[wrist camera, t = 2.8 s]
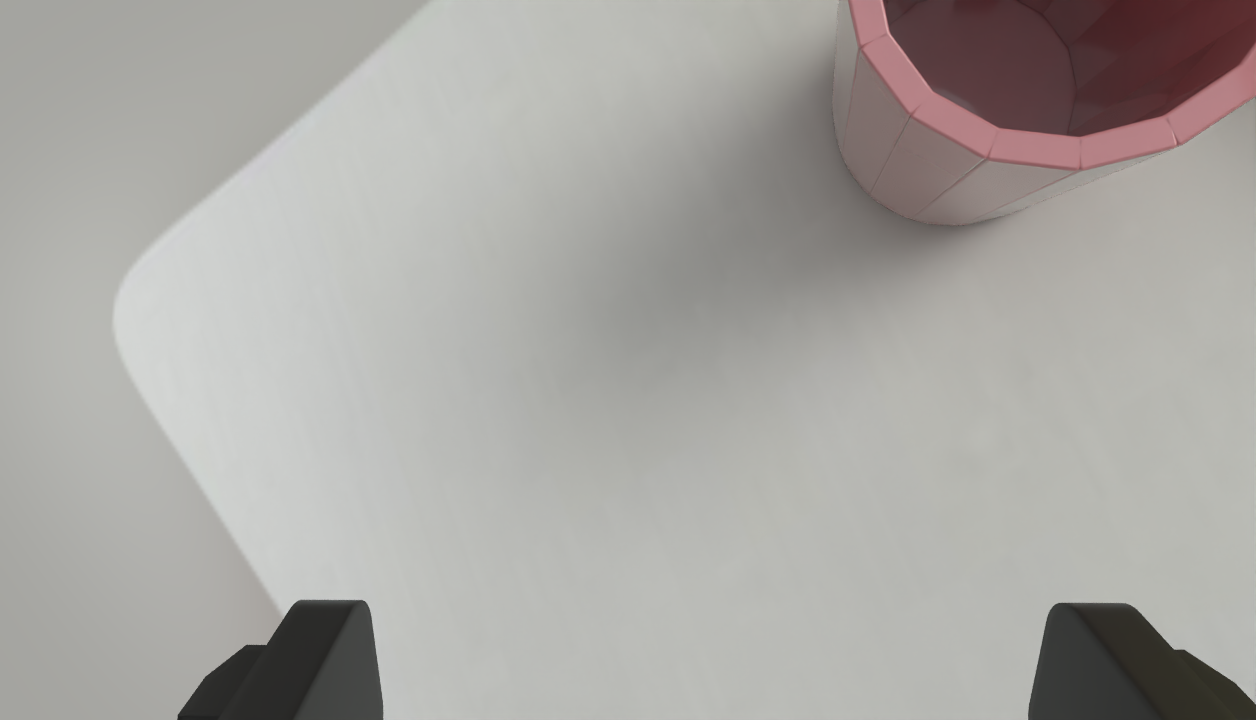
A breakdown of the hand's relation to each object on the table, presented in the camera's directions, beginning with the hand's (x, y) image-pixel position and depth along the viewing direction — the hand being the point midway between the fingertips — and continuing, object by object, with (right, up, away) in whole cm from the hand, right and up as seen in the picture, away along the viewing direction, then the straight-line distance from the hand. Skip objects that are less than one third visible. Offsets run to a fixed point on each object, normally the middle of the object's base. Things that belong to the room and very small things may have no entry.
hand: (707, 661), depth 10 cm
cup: (+7, +10, +10) cm, 16 cm away
